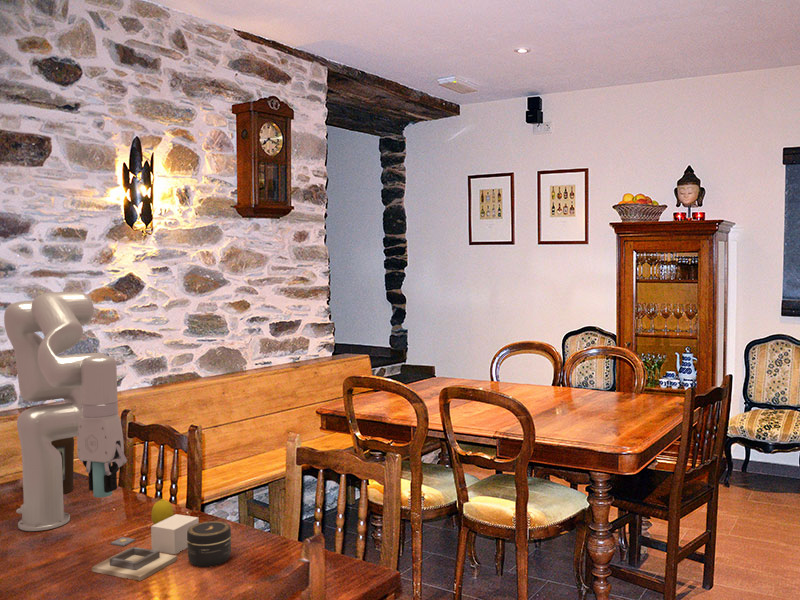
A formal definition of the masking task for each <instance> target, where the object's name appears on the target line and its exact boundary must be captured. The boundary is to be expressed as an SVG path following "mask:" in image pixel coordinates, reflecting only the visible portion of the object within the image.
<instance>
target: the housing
mask: <svg viewBox="0 0 800 600" xmlns="http://www.w3.org/2000/svg"><path fill="white" fill-rule="evenodd" d="M199 521H200V520H199V516H198V517H197V516H191V515H183V514H177V513H174V515H173V516H171V517H169V518H167V519H165V520H163V521H161V522H159V523H157V524H153V525H151V526H150V532H151V533H150V535H151V550H155V551H159V553H163V554H169V555H174V554H175V555H177V554H179V553H181V552H183V551H184V550H186V549H188V542H187V531H188V529H189V528H190V527H191V526H193V525H195V524H198V523H200V522H199ZM182 550H183V551H182ZM180 551H181V552H180Z"/></svg>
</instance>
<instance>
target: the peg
mask: <svg viewBox="0 0 800 600" xmlns="http://www.w3.org/2000/svg"><path fill="white" fill-rule="evenodd" d="M111 466H112V463H110V467H111ZM92 469H93V490H92V493H93V497H94V498H99V499H102V498H107V497H110V496H112V495H113V491H111V492H108V493H105V491H104V475H106V471H105V465H104V463H99V462H92Z"/></svg>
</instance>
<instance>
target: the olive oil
mask: <svg viewBox="0 0 800 600" xmlns="http://www.w3.org/2000/svg"><path fill="white" fill-rule="evenodd" d="M74 438H75V437H71V438H65V439H59V440H55V441H52V442H51V444H52V445H53V446H54V447H55V448H56V449H57V450H58V451H59V452H60V454H61V457H62V475H63V495H65V494H68V493H70V492H73V490H74V466H75V465H74V462H75V461H74V460H75V459H74V458H75V456H74V455H75V439H74Z"/></svg>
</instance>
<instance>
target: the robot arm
mask: <svg viewBox="0 0 800 600" xmlns="http://www.w3.org/2000/svg"><path fill="white" fill-rule="evenodd" d="M94 312H95V307H94V303H93V301H92V299H91V297H90V296H89V295H88V294H86V293H85V292H83V291H54V292H53V291H52V292H44V293H41V294H39V295H37V296H36V297H35V298H34V299H33V300H22V301H16V302H13V303H11V304H9V305H8V306H6V309H5V311H4V316H3V319H4V320H3V322H4V328H5V332H6V335H7V337H8V340H9V342H10V344H11V346H12V348H13V352H14V355H15V363H16V371H17V372H16V373H17V380H18V381H17V382H18V389H19V392H20V396H21V399H22V400H24V401H25V402H30V403H35V402H44V401H54V400H60V399H62V400H64V403H57V404H48V405H46V404H45V405H41V406H34V407H30V408H28V409H25V410H23V411H21V413H20V414H19V415H18V417H17V420H16V427H17V429H16V430H17V432H18V434H17V435H18V437H19V442H20V447H21V448H20V450H21V461H22V465H21V466H22V488H23V491H22V493H23V503H22V504H21V505H20V507H19V508H17V509H16V514H19V515H20V514H21V519H20V520H19V521H18V523H17V528H18V529H19V530H21V531H24V532H39V531H48V530H52V529H55V528H59V527H62V526H64V525H66V524H67V523H69V522H70V520H71V514H70V513H69V512H67V511H66V512H65V510H64V494H63V475H62V457H61V454H60V452H59V451H58V450H57V449H56V448H55V447H54V446H53V445H52V444H51V442H52V441H55V440H59V439H65V438H71V437H73V438H77V445H76V446H77V459H78V460H79V461H80V462H81V463H82V464H83V466H84V467H85V472H86V473H87V474H88V490H89V491H92V492H93V469H92V462H99V463H104V465H105V471H106V475H104V491H105V493H108V492H111V491H112V492H113V491H116V490H117V489H118V478H117V477H118V476H117V475H118V474H117V473H119V472H120V469H121V468H122V466H124V465H125V464H126V463H127V462H128V459H127V457H126V455H125V448H124V447H125V446H124V445H125V444H124V435H123V427H122V422H121V417H120V415H119V405H118V404H119V401H118V398H119V397H118V376H117V375H118V373H117V372H118V371H117V366H118V365H117V360H116V358H114V356H111V355H106V353H104V352H103V353H102V352H88V353H87V352H86V353H74V354H63V355H60V354H61V353H63V352H66V351H67V350H69V349H72V348H73V347H74V346H76V345H77V344H78V343H79V342H80V341H81V339H82V337H83V334H84V328H83V326H84V325H86V324H88V323H90V321H91V320H92V319H93V316H94ZM39 332H42V333H43V336H44V337H43V338H42V337H41V336H40V335H39V334H37V333H39ZM110 463H111V467H110Z"/></svg>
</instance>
